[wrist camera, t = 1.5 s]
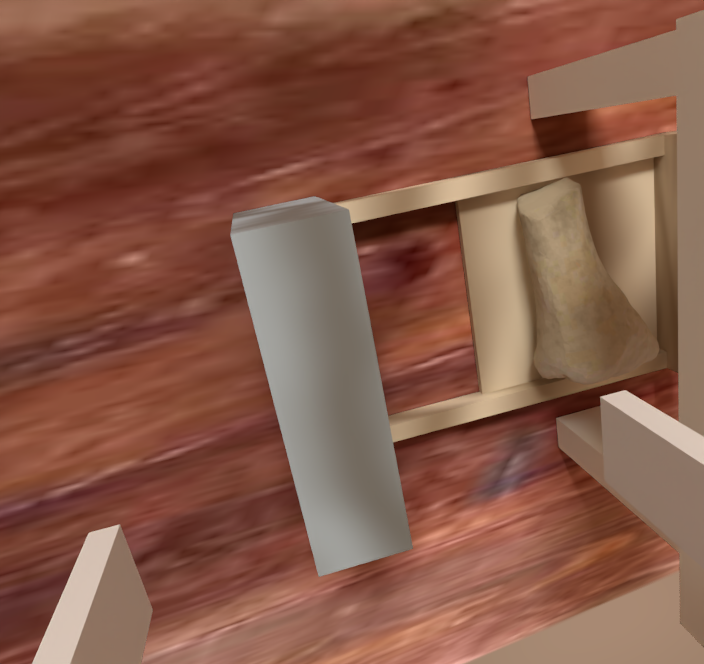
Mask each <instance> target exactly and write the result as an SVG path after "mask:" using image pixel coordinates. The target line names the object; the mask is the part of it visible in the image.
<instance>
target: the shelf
mask: <svg viewBox="0 0 704 664" xmlns="http://www.w3.org/2000/svg"><path fill="white" fill-rule="evenodd" d="M528 89H529V101H530V113H531V119H537V118H543V117H549V116H555V115H561V114H567V113H573V112H579V111H585V110H591V109H597V108H603V107H609V106H616V105H622V104H628V103H634V102H640V101H646V100H652V99H658V98H664V97H670V96H676V95H677V234H678V394H679V422H680V423H682V424H683V425H685V426H687V427H688V428H690V429H692V430H693V431H695V432H697V433H698V434H700V435H702V436H703V437H704V10H702V11H699V12H696V13H693V14H690V15H687V16H685V17H682V18H679V19H676V30H674V31H671V32H668V33H665V34H662V35H658V36H655V37H652V38H649V39H646V40H643V41H639V42H636V43H633V44H630V45H627V46H624V47H620V48H617V49H614V50H611V51H608V52H604V53H601V54H598V55H595V56H592V57H589V58H585V59H582V60H579V61H576V62H573V63H570V64H566V65H563V66H560V67H557V68H554V69H551V70H547V71H544V72H541V73H538V74H535V75H532V76H528ZM556 424H557V436H558V447H559V448H560V449H561V450H562V451H563V452H565V453H566V454H567V455H568V456H569V457H570V458H571V459H573V460H574V461H575V462H576V463H577V464H578V465H579V466H581V467H582V468H583V469H584V470H585V471H586V472H587V473H589V474H590V475H591V476H592V477H593V478H594V479H595V480H597V481H598V482H599V483H600V484H601V485H602V486H603V487H604V488H606V489H607V490H608V491H609V492H610V493H611V494H612V495H614V496H615V497H616V498H617V499H618V500H619V501H620V502H622V503H623V504H624V505H625V506H626V507H627V508H628V509H630V510H631V511H632V512H633V513H634V514H635V515H636V516H638V517H639V518H640V519H641V520H642V521H643V522H644V523H646V524H647V525H648V526H649V527H650V528H651V529H652V530H653V531H655V532H656V533H657V534H658V535H659V536H660V537H661V538H663V539H664V540H665V541H666V542H667V543H668V544H669V545H671V546H672V547H673V548H674V549H675V550H676V551H677V552H679V554H680V624H681V625H682V626H683V627H684V628H685V629H686V630H687V631H688V632H689V633H690V634H691V635H692V636H693V637H694V638H695V639H696V640H697V641H698V642H699V643H700V644H701V645H702V646H703V647H704V569H703V568H702V567H701V566H700V565H699V564H698V563H696V562H695V561H694V560H693V559H692V558H691V557H690V556H689V555H687V554H686V553H685V552H684V551H683V550H682V549H681V548H679V547H678V546H677V545H676V544H675V543H674V542H673V541H672V540H670V539H669V538H668V537H667V536H666V535H665V534H664V533H663V532H661V531H660V530H659V529H658V528H657V527H656V526H655V525H654V524H652V523H651V522H650V521H649V520H648V519H647V518H646V517H644V516H643V515H642V514H641V513H640V512H639V511H638V510H637V509H635V508H634V507H633V506H632V505H631V504H630V503H629V502H628V501H626V500H625V499H624V498H623V497H622V496H621V495H620V494H619V493H617V492H616V491H615V490H614V489H613V488H612V487H611V486H609V485H608V484H607V483H606V482H605V478H604V460H603V441H602V423H601V406H598V407H594V408H590V409H587V410H583V411H580V412H576V413H572V414H569V415H565V416H561V417H558V418H556Z"/></svg>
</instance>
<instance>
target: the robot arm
mask: <svg viewBox="0 0 704 664" xmlns="http://www.w3.org/2000/svg"><path fill="white" fill-rule="evenodd" d="M600 404H601V423H602V441H603V460H604V478H605V482H606V483H607V484H608V485H609V486H611V487H612V488H613V489H614V490H615V491H616V492H617V493H619V494H620V495H621V496H622V497H623V498H624V499H625V500H626V501H628V502H629V503H630V504H631V505H632V506H633V507H634V508H635V509H637V510H638V511H639V512H640V513H641V514H642V515H643V516H644V517H646V518H647V519H648V520H649V521H650V522H651V523H652V524H654V525H655V526H656V527H657V528H658V529H659V530H660V531H661V532H663V533H664V534H665V535H666V536H667V537H668V538H669V539H670V540H672V541H673V542H674V543H675V544H676V545H677V546H678V547H679V548H681V549H682V550H683V551H684V552H685V553H686V554H687V555H689V556H690V557H691V558H692V559H693V560H694V561H695V562H696V563H698V564H699V565H700V566H701V567H702V568H703V569H704V437H703V436H702V435H700V434H698V433H697V432H695V431H693V430H692V429H690V428H688V427H687V426H685V425H683V424H682V423H680V422H678V421H676V420H675V419H673V418H671V417H670V416H668V415H666V414H665V413H663V412H661V411H660V410H658V409H656V408H655V407H653V406H651V405H650V404H648V403H646V402H645V401H643V400H641V399H640V398H638V397H636V396H635V395H633V394H631V393H629V392H628V391H626V390H624V391H620V392H616V393H612V394H609V395H605V396H601V397H600ZM152 611H153V609H152V607H151V604H150V602H149V599H148V596H147V594H146V591H145V589H144V586H143V583H142V581H141V578H140V575H139V573H138V570H137V568H136V565H135V562H134V560H133V557H132V555H131V552H130V549H129V547H128V544H127V542H126V539H125V536H124V534H123V531H122V529H121V526H120V525H116V526H112V527H109V528H105V529H101V530H97V531H93V532H90V533H88V536H87V538H86V540H85V543H84V545H83V547H82V550H81V552H80V554H79V557H78V559H77V561H76V563H75V566H74V568H73V570H72V573H71V575H70V577H69V580H68V582H67V584H66V587H65V589H64V591H63V594H62V596H61V598H60V600H59V603H58V605H57V607H56V610H55V612H54V614H53V617H52V619H51V621H50V624H49V626H48V628H47V630H46V633H45V635H44V637H43V640H42V642H41V644H40V647H39V649H38V651H37V654H36V656H35V658H34V661H33V663H32V664H141V662H142V657H143V653H144V648H145V643H146V639H147V634H148V629H149V625H150V620H151V615H152Z"/></svg>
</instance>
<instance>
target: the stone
mask: <svg viewBox="0 0 704 664" xmlns="http://www.w3.org/2000/svg"><path fill="white" fill-rule="evenodd" d="M517 203H518V205H517V209H518V213H519V218H520V222H521V226H522V229H523V236H524V240H525V248H526V253H527V259H528V265H529V269H530V274H531V278H532V282H533V288H534V294H535V302H536V317H537V346H536V350H535V354H534V358H533V361H534V363H535V367H536V369H537V370H538V372H539V374H540V375H541V376H542V378H547V379H552V378H565V379H568V380H570V381H572V382H575V383H580V384H584V385H588V384H594V383H598V382H601V381H604V380H607V379H609V378H611V377H617V376H620V375H623V374H626V373H629V372H631V371H633V370H635V369H636V368H638V367H639V366H640V365H642V364H643V363H646V362H650V361H652V360H653V359H655V358H656V357H657V354H658V352H659V344H658V341H657V339H656V338H655V337H654V336H653V334H652V332H651V331H650V330H649V329H648V327H647V325H646V323H645V322H644V321H643V320H642V318H641V317H640V315H639V314H638V312H637V311H636V310H635V309H634V308H633V307H632V306H631V305H630V303H629V301H628V299H627V297H626V296H625V294H624V293H623V292H622V290H621V289H620V288H619V287H618V286H617V285H616V284H615V282H614V281H613V280H612V279H611V277H610V275H609V274H608V273H607V271H606V270H605V268H604V266H603V264H602V263H601V261H600V259H599V256H598V254H597V251H596V248H595V246H594V243H593V240H592V236H591V233H590V230H589V226H588V222H587V217H586V213H585V207H584V202H583V195H582V189H581V185H580V184H579V183H576V182H574V181H572V180H570V179H569V178H563V179H561V180H559V181H556V182H554V183H551V184H549V185H546V186H544V187H542V188H540V189H538V190H534V191H531V192H529V193H525V194H521V195H520V197H519V198H518V200H517Z"/></svg>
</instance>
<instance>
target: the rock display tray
mask: <svg viewBox="0 0 704 664" xmlns="http://www.w3.org/2000/svg"><path fill="white" fill-rule="evenodd" d="M563 178H569V179H570V180H572V181H574V182H576V183H579V184H580V185H581V189H582V195H583V202H584V207H585V213H586V217H587V222H588V226H589V230H590V233H591V236H592V240H593V243H594V246H595V248H596V251H597V254H598V256H599V259H600V261H601V263H602V264H603V266H604V268H605V270H606V271H607V273H608V274H609V275H610V277H611V279H612V280H613V281H614V282H615V284H616V285H617V286H618V287H619V288H620V289H621V290H622V292H623V293H624V294H625V296H626V297H627V299H628V301H629V303H630V305H631V306H632V307H633V308H634V309H635V310H636V311H637V312H638V314H639V315H640V317H641V318H642V320H643V321H644V322H645V323H646V325H647V327H648V329H649V330H650V331H651V332H652V334H653V336H654V337H655V338H656V339H657V341H658V344H659V352H658V354H657V357H656V358H655V359H653V360H652V361H650V362H646V363H643V364H642V365H640V366H639V367H638V368H636V369H635V370H633V371H631V372H629V373H626V374H623V375H620V376H617V377H611V378H609V379H607V380H604V381H601V382H598V383H594V384H588V385H584V384H580V383H575V382H572V381H570V380H568V379H565V378H552V379H547V378H542V376H541V375H540V374H539V372H538V370H537V369H536V367H535V363H534V361H533V358H534V354H535V350H536V346H537V317H536V302H535V294H534V288H533V282H532V278H531V274H530V269H529V265H528V259H527V253H526V248H525V240H524V236H523V229H522V226H521V222H520V218H519V213H518V209H517V205H518V203H517V200H518V198H519V197H520V195H521V194H525V193H529V192H531V191H534V190H538V189H540V188H542V187H544V186H546V185H549V184H551V183H554V182H556V181H559V180H561V179H563ZM452 201H455V206H456V213H457V221H458V229H459V236H460V244H461V252H462V260H463V267H464V275H465V283H466V291H467V298H468V306H469V314H470V322H471V329H472V337H473V345H474V352H475V360H476V368H477V376H478V383H479V391H480V392H476V393H473V394H469V395H465V396H461V397H458V398H454V399H450V400H446V401H442V402H439V403H435V404H431V405H427V406H424V407H420V408H416V409H412V410H409V411H405V412H401V413H397V414H393V415H390V416H388V414H387V408H386V403H385V398H384V392H383V387H382V382H381V377H380V371H379V366H378V361H377V355H376V350H375V345H374V339H373V334H372V329H371V324H370V318H369V313H368V308H367V302H366V297H365V292H364V286H363V281H362V276H361V271H360V265H359V260H358V255H357V249H356V244H355V239H354V234H353V228H352V223H356V222H361V221H365V220H370V219H375V218H379V217H384V216H388V215H393V214H397V213H402V212H407V211H411V210H416V209H420V208H425V207H429V206H434V205H439V204H443V203H448V202H452ZM231 239H232V243H233V247H234V250H235V254H236V258H237V262H238V266H239V270H240V274H241V278H242V281H243V285H244V289H245V293H246V297H247V301H248V305H249V309H250V312H251V316H252V320H253V324H254V328H255V332H256V336H257V339H258V343H259V347H260V351H261V355H262V359H263V363H264V367H265V370H266V374H267V378H268V382H269V386H270V390H271V394H272V398H273V401H274V405H275V409H276V413H277V417H278V421H279V425H280V428H281V432H282V436H283V440H284V444H285V448H286V452H287V456H288V459H289V463H290V467H291V471H292V475H293V479H294V483H295V487H296V490H297V494H298V498H299V502H300V506H301V510H302V514H303V518H304V521H305V525H306V529H307V533H308V537H309V541H310V545H311V548H312V552H313V556H314V560H315V564H316V568H317V572H318V576H319V577H320V576H323V575H327V574H330V573H333V572H337V571H340V570H343V569H347V568H350V567H354V566H357V565H360V564H364V563H367V562H370V561H374V560H377V559H380V558H384V557H387V556H390V555H394V554H397V553H401V552H404V551H407V550H411V549H413V546H412V541H411V535H410V530H409V525H408V519H407V514H406V509H405V504H404V498H403V493H402V488H401V482H400V477H399V472H398V467H397V461H396V456H395V451H394V445H393V442H396V441H400V440H404V439H407V438H411V437H415V436H418V435H422V434H426V433H429V432H433V431H437V430H440V429H444V428H448V427H451V426H455V425H459V424H463V423H466V422H470V421H474V420H477V419H481V418H485V417H488V416H492V415H496V414H499V413H503V412H507V411H510V410H514V409H518V408H521V407H525V406H529V405H532V404H536V403H540V402H543V401H547V400H551V399H554V398H558V397H562V396H566V395H569V394H573V393H577V392H580V391H584V390H588V389H591V388H595V387H599V386H602V385H606V384H610V383H613V382H617V381H621V380H624V379H628V378H632V377H635V376H639V375H643V374H646V373H650V372H654V371H658V370H661V369H665V368H668V369H671V370H673V371H675V372H677V373H678V234H677V131H671V132H665V133H660V134H655V135H651V136H646V137H641V138H636V139H632V140H627V141H622V142H618V143H613V144H608V145H604V146H599V147H594V148H590V149H585V150H580V151H575V152H571V153H566V154H561V155H557V156H552V157H547V158H543V159H538V160H533V161H529V162H524V163H519V164H515V165H510V166H505V167H500V168H496V169H491V170H486V171H482V172H477V173H472V174H468V175H463V176H458V177H454V178H449V179H444V180H440V181H435V182H430V183H425V184H421V185H416V186H411V187H407V188H402V189H397V190H393V191H388V192H383V193H379V194H374V195H369V196H365V197H360V198H355V199H350V200H346V201H341V202H336V203H331V202H328V201H326V200H323V199H321V198H318V197H315V196H314V197H309V198H305V199H300V200H295V201H290V202H286V203H281V204H276V205H271V206H267V207H262V208H257V209H252V210H248V211H243V212H238V213H233V220H232V228H231Z"/></svg>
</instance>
